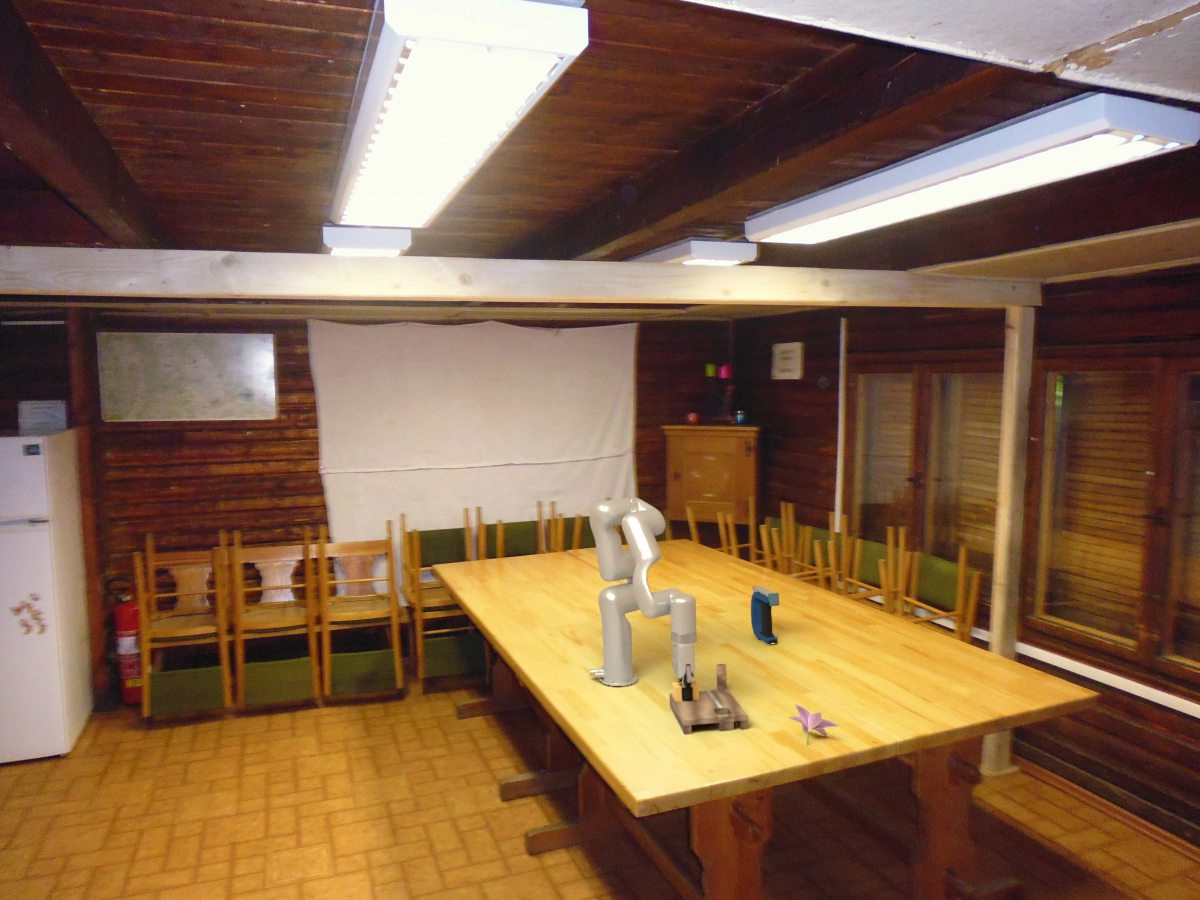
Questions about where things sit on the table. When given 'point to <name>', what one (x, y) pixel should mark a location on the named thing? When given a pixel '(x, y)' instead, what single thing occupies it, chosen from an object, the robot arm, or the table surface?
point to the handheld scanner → (763, 613)
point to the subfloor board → (710, 711)
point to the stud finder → (678, 691)
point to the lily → (812, 721)
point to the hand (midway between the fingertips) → (685, 696)
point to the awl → (721, 677)
